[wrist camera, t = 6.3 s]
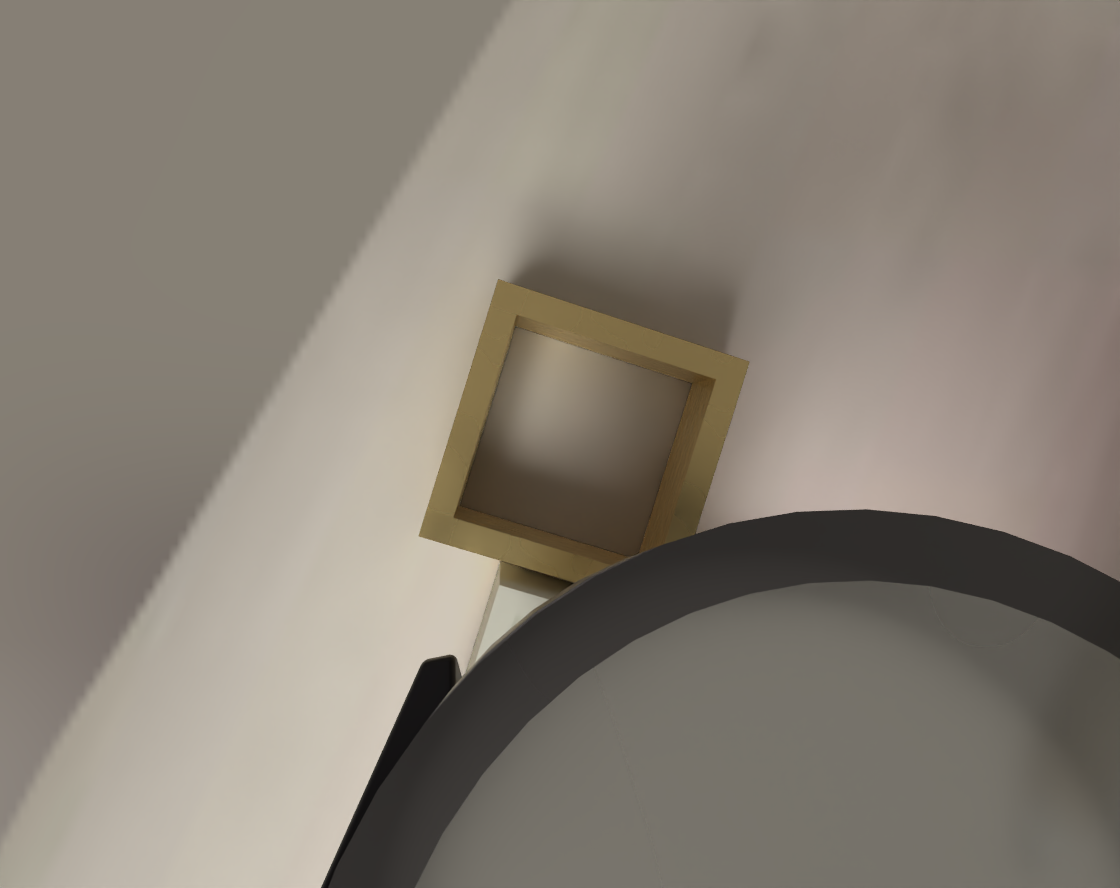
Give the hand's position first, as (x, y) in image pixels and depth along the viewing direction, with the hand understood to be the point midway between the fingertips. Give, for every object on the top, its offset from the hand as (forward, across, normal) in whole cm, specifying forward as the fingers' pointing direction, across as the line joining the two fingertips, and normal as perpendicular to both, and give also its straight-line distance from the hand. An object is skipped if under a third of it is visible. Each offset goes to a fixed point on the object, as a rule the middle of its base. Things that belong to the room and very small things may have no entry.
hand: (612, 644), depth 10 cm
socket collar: (+11, -1, +4) cm, 12 cm away
